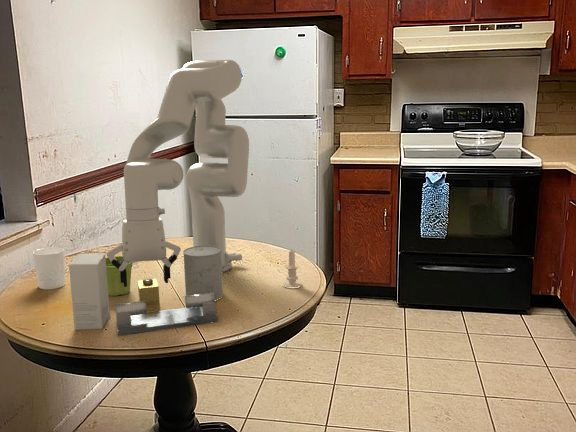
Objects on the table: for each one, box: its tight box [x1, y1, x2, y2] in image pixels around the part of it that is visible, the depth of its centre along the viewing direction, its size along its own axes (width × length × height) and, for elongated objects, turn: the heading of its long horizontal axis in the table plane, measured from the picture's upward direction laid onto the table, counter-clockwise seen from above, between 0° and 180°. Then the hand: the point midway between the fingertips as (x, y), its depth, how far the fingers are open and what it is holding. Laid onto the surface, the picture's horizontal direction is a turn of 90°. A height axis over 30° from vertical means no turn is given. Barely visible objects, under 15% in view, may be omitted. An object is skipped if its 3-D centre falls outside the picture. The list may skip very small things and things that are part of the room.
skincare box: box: [68, 252, 111, 331], centre depth 128 cm, size 8×7×16 cm
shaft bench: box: [115, 292, 219, 336], centre depth 130 cm, size 22×9×6 cm, turn 108°
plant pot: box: [106, 255, 134, 297], centre depth 148 cm, size 9×9×9 cm
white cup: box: [32, 246, 66, 290], centre depth 154 cm, size 8×8×10 cm
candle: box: [282, 249, 303, 287], centre depth 152 cm, size 5×5×10 cm
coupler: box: [137, 278, 161, 312], centre depth 139 cm, size 6×4×7 cm
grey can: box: [182, 246, 224, 301], centre depth 144 cm, size 10×10×12 cm
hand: (145, 283), depth 137 cm, fingers open, 9 cm apart
